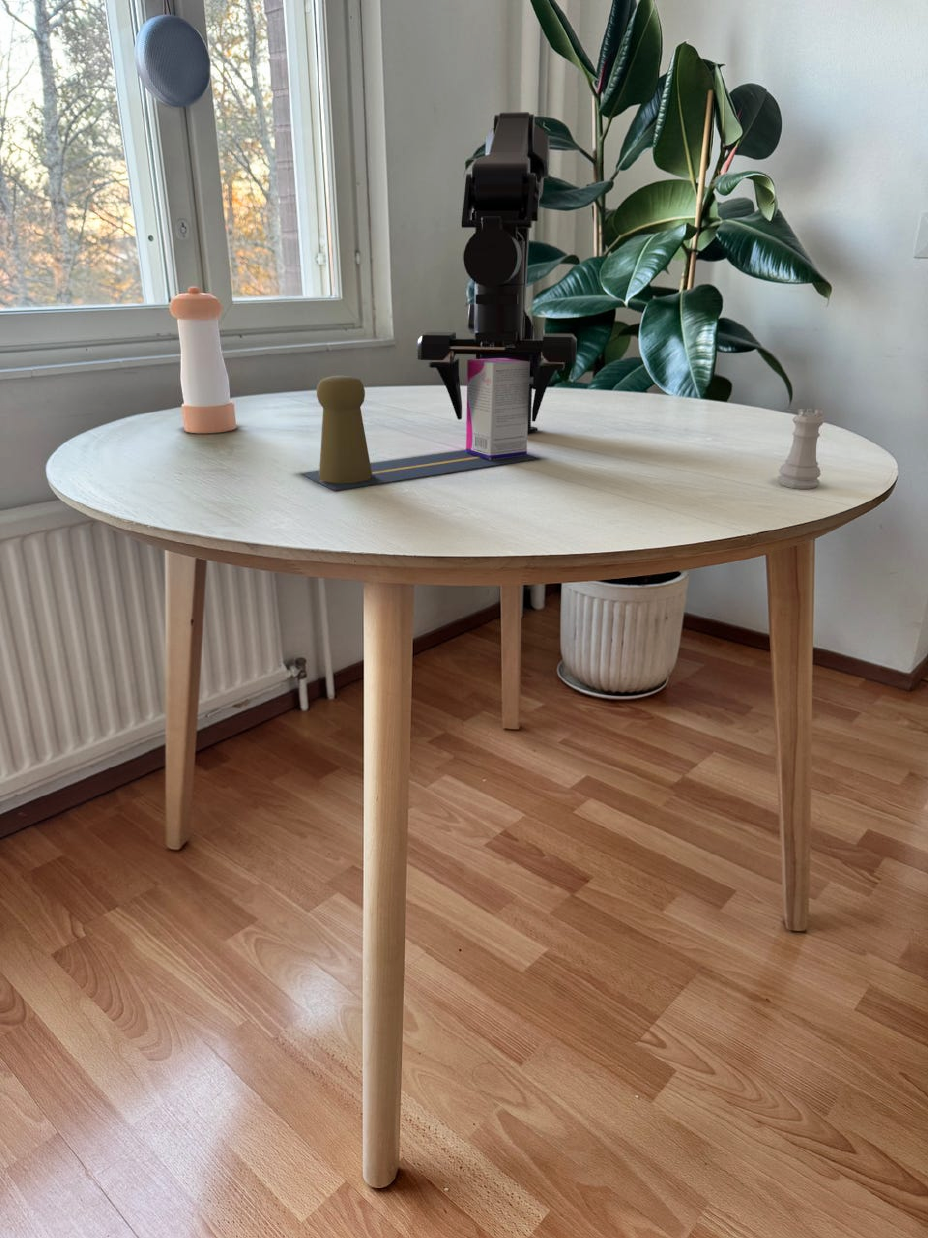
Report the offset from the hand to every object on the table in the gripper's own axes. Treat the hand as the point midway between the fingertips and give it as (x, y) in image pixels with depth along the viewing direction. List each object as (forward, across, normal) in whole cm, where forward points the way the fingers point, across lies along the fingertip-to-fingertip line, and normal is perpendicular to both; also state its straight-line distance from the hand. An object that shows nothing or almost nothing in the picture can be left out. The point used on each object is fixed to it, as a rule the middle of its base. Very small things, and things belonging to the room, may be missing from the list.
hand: (496, 419), depth 103 cm
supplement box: (+4, 0, 0) cm, 5 cm away
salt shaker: (+5, +43, -12) cm, 45 cm away
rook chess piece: (+5, -34, +10) cm, 36 cm away
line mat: (+4, +8, +7) cm, 11 cm away
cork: (+4, +16, +14) cm, 21 cm away
